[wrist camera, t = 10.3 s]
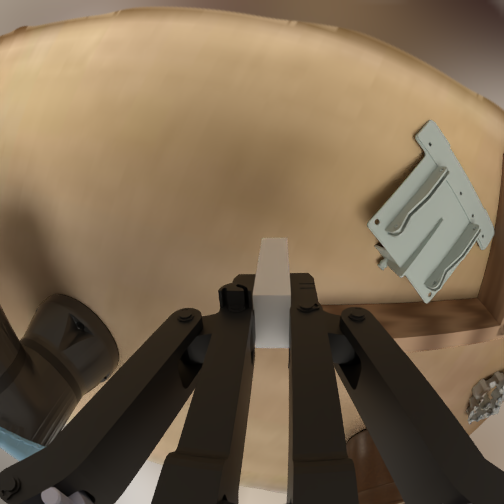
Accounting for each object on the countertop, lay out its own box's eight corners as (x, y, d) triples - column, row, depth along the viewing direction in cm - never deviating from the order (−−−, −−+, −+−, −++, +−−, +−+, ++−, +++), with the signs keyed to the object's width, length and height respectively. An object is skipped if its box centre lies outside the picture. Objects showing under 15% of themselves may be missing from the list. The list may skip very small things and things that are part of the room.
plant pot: (374, 464, 44) (380, 528, 29) (314, 451, 43) (313, 528, 28) (436, 424, 38) (456, 495, 23) (380, 406, 36) (397, 498, 21)
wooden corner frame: (315, 320, 31) (318, 357, 26) (320, 130, 24) (329, 129, 18) (483, 310, 28) (505, 337, 23) (514, 156, 21) (548, 165, 15)
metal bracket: (438, 328, 24) (354, 216, 21) (409, 308, 29) (328, 211, 26) (509, 227, 22) (447, 109, 20) (476, 220, 28) (413, 119, 25)
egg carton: (473, 380, 33) (482, 397, 30) (506, 364, 32) (516, 380, 28) (461, 415, 37) (467, 431, 33) (492, 401, 35) (499, 416, 32)
